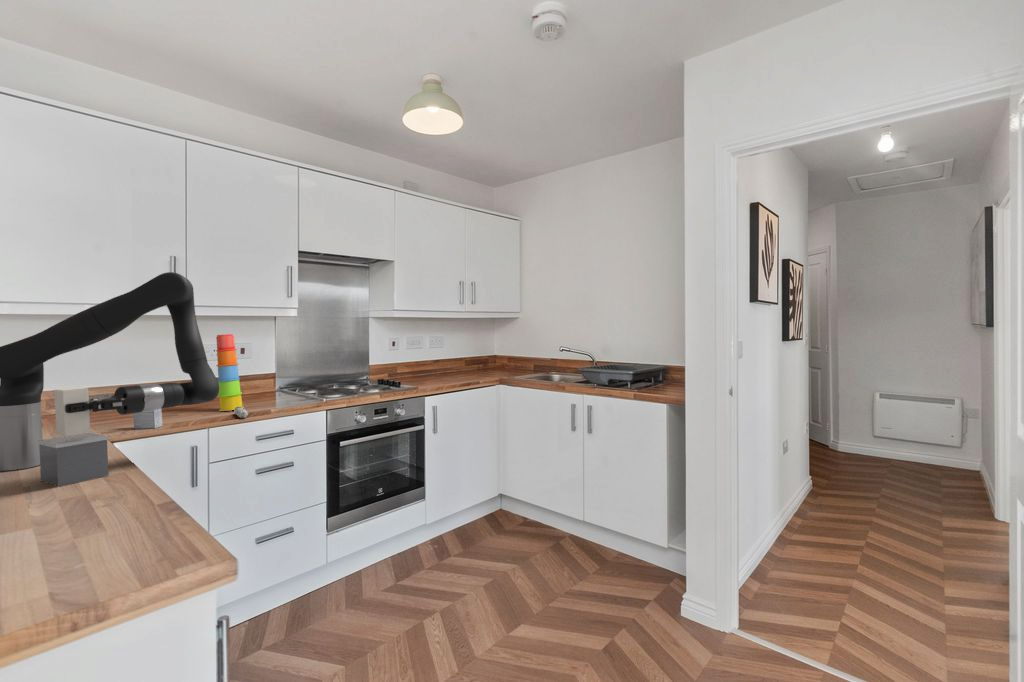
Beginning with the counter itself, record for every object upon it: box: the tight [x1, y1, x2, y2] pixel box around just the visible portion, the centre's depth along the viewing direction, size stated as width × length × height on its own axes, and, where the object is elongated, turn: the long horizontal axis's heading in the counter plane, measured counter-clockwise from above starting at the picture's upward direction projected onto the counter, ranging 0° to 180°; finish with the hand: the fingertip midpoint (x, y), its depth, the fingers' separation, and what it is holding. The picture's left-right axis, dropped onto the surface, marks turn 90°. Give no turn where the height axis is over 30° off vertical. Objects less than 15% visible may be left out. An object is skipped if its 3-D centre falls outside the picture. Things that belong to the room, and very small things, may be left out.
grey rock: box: [233, 406, 249, 419], centre depth 215 cm, size 18×5×7 cm, turn 37°
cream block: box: [53, 386, 91, 437], centre depth 127 cm, size 5×5×11 cm
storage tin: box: [38, 432, 109, 487], centre depth 127 cm, size 10×10×10 cm
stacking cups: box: [215, 333, 245, 410], centre depth 232 cm, size 10×10×35 cm
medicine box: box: [132, 408, 163, 430], centre depth 193 cm, size 8×4×9 cm, turn 92°
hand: (61, 408), depth 125 cm, fingers closed on cream block, 5 cm apart
